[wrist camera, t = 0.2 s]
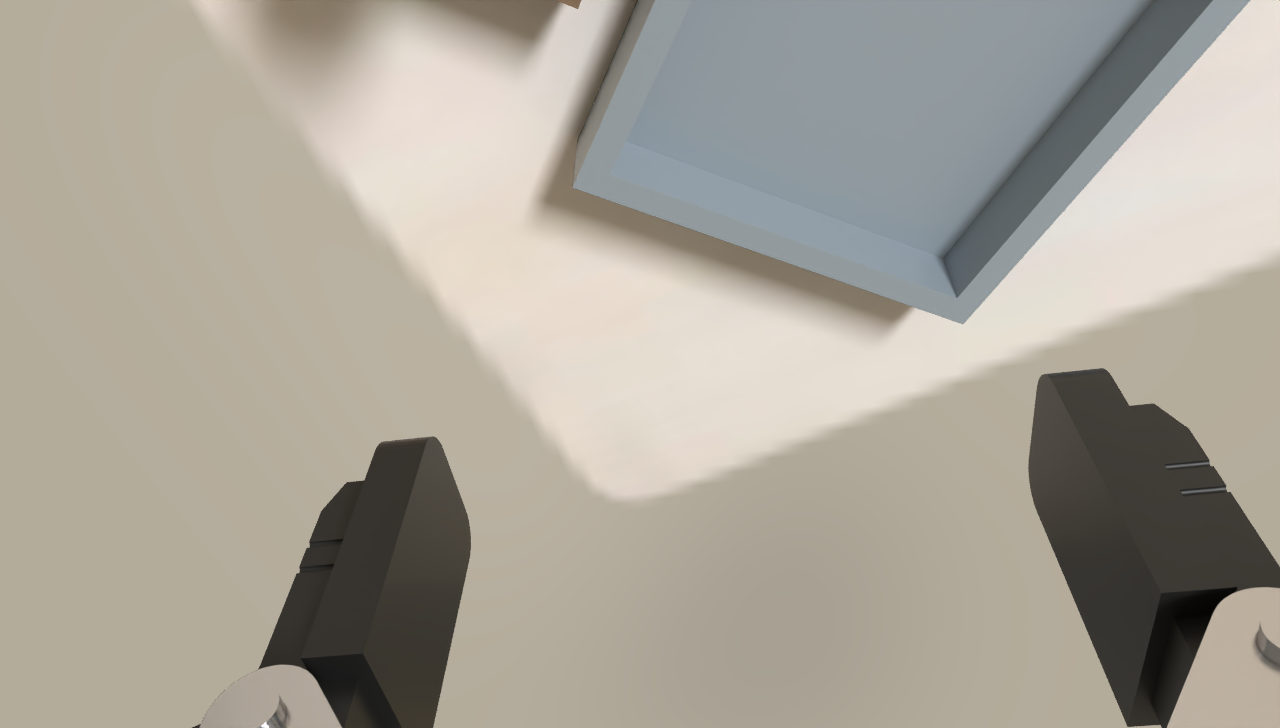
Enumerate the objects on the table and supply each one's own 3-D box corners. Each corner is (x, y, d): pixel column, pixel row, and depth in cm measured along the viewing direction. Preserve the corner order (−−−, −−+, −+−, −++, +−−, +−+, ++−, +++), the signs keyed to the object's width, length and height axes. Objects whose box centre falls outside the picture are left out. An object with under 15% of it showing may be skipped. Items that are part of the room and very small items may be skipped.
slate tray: (831, -456, 24) (850, -442, 21) (1318, -174, 28) (1373, -140, 26) (577, 140, 35) (572, 187, 33) (946, 274, 39) (963, 324, 37)
